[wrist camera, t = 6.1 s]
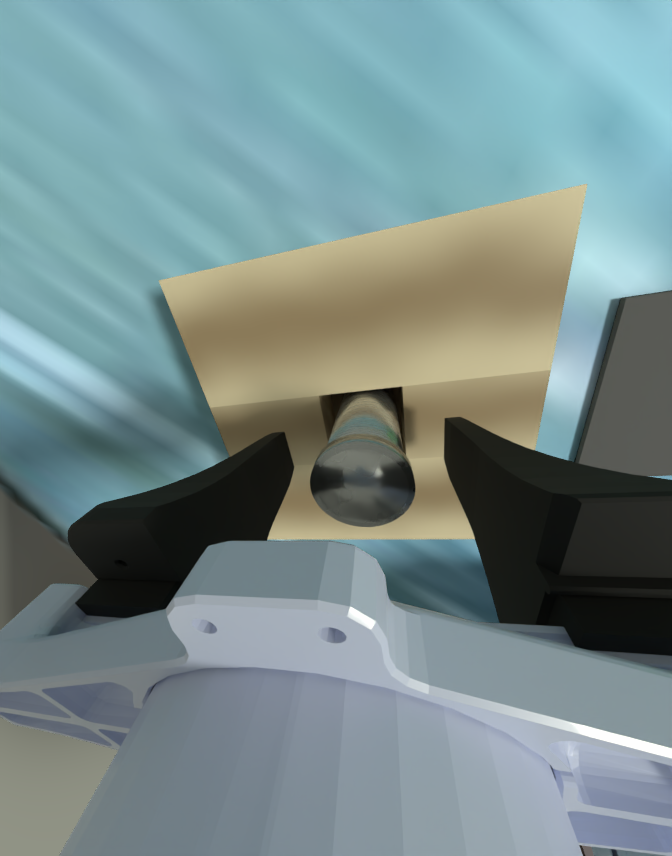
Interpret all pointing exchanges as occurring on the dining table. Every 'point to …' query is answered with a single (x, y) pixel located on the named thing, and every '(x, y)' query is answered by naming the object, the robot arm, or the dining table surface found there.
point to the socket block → (386, 344)
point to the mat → (634, 392)
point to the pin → (364, 463)
